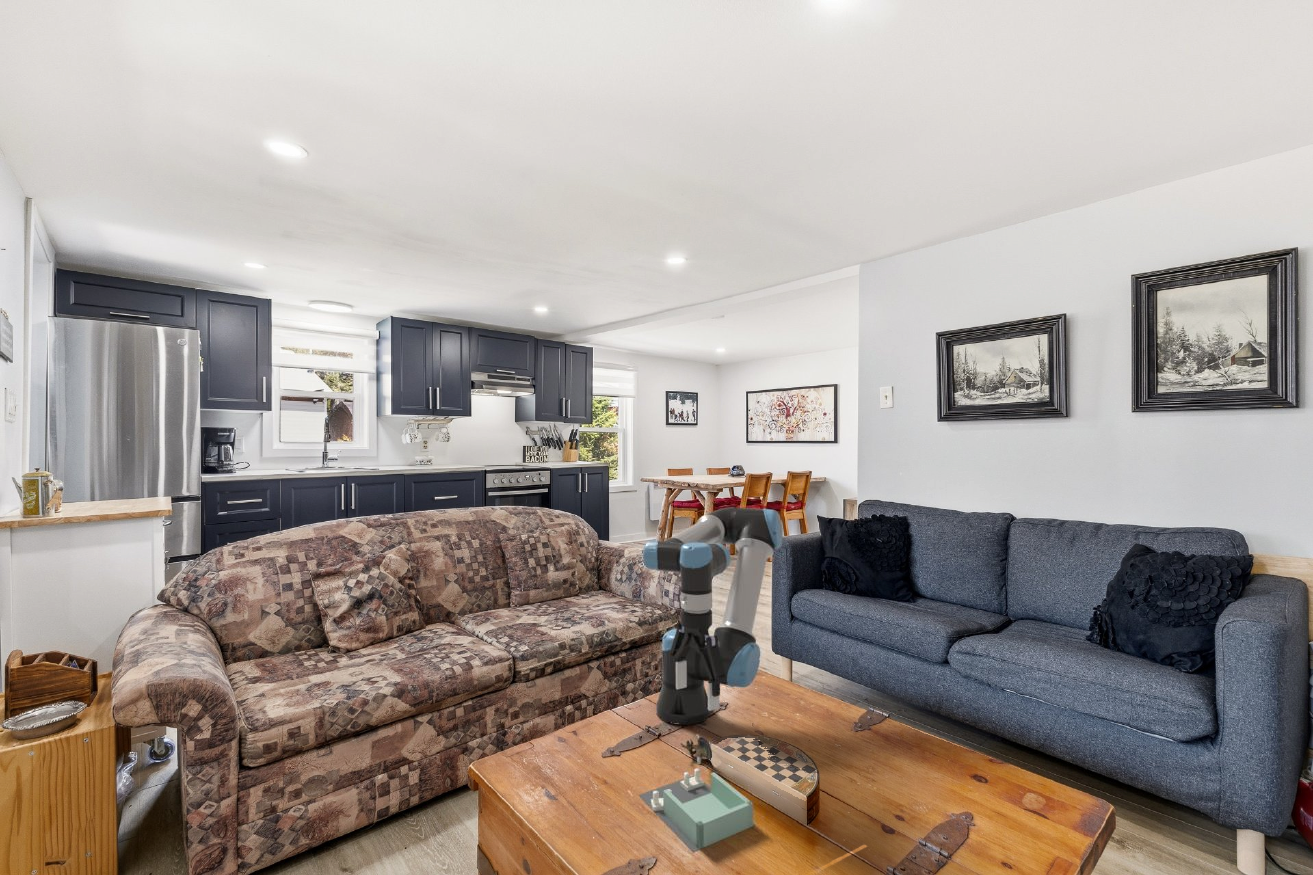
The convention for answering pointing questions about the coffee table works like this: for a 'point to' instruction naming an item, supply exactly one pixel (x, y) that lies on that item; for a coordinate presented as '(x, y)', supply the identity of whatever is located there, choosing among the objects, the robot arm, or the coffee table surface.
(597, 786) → the coffee table surface
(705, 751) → the eagle figurine
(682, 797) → the mat
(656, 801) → the clips
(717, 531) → the robot arm
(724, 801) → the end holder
